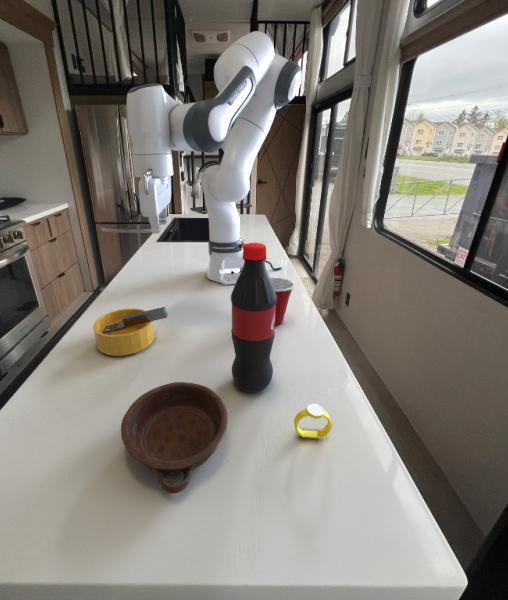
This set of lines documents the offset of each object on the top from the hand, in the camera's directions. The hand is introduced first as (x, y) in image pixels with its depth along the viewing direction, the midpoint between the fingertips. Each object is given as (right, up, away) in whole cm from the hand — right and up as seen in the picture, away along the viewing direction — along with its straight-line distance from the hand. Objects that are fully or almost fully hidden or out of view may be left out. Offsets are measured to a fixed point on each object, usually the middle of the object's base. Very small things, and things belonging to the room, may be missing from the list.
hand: (159, 228), depth 80 cm
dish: (+8, -42, -24) cm, 49 cm away
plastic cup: (+30, -24, +12) cm, 40 cm away
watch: (+31, -41, -24) cm, 57 cm away
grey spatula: (-7, -24, +2) cm, 25 cm away
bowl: (-9, -28, +4) cm, 30 cm away
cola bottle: (+22, -35, -12) cm, 43 cm away
